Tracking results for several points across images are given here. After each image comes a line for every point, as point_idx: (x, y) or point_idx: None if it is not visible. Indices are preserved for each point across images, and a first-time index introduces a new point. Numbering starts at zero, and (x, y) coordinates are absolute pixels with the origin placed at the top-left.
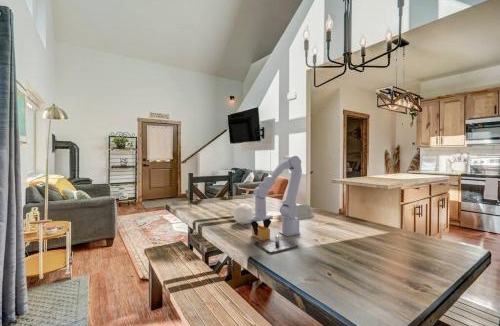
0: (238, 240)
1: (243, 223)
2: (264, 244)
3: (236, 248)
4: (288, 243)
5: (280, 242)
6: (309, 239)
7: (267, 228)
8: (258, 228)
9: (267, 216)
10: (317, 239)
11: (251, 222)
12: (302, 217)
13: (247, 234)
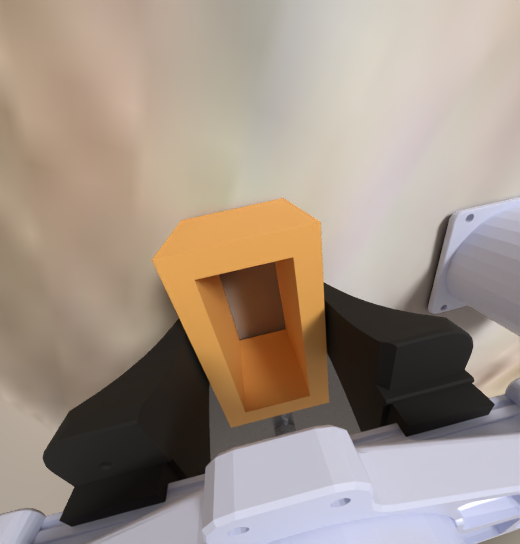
0: (35, 314)
1: None
2: (222, 426)
3: (46, 424)
4: (343, 421)
5: (315, 411)
6: (476, 364)
7: (319, 385)
8: (225, 375)
9: (507, 509)
10: (502, 368)
11: (85, 482)
12: None
13: (131, 163)
